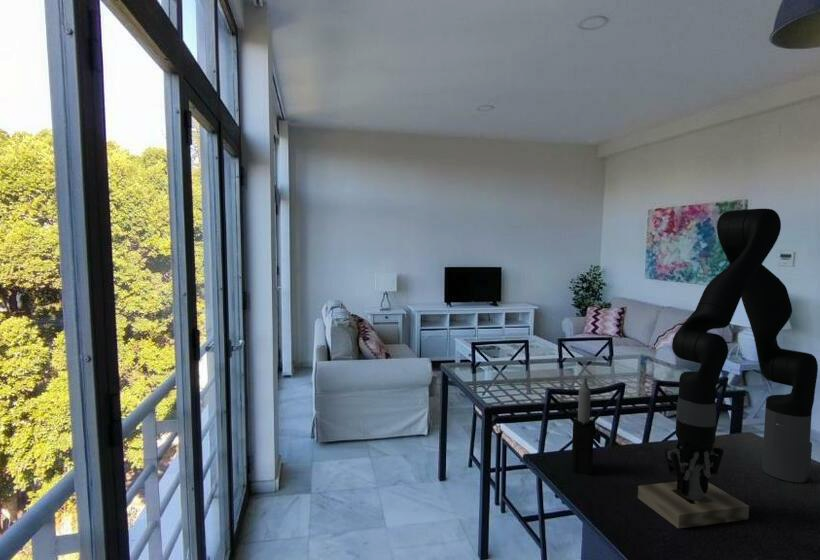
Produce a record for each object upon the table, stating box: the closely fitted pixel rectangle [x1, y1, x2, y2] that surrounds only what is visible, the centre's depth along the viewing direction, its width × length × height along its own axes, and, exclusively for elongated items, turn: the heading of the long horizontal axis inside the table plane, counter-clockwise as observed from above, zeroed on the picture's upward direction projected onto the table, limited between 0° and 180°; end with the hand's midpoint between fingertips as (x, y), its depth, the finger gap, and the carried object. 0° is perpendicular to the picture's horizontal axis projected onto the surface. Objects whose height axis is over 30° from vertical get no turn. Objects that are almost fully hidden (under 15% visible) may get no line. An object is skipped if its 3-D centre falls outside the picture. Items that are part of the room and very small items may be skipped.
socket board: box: [637, 481, 750, 529], centre depth 101 cm, size 18×12×3 cm, turn 102°
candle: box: [570, 377, 595, 476], centre depth 118 cm, size 5×5×25 cm
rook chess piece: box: [683, 462, 704, 502], centre depth 100 cm, size 4×4×8 cm
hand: (692, 492), depth 101 cm, fingers closed on rook chess piece, 4 cm apart
